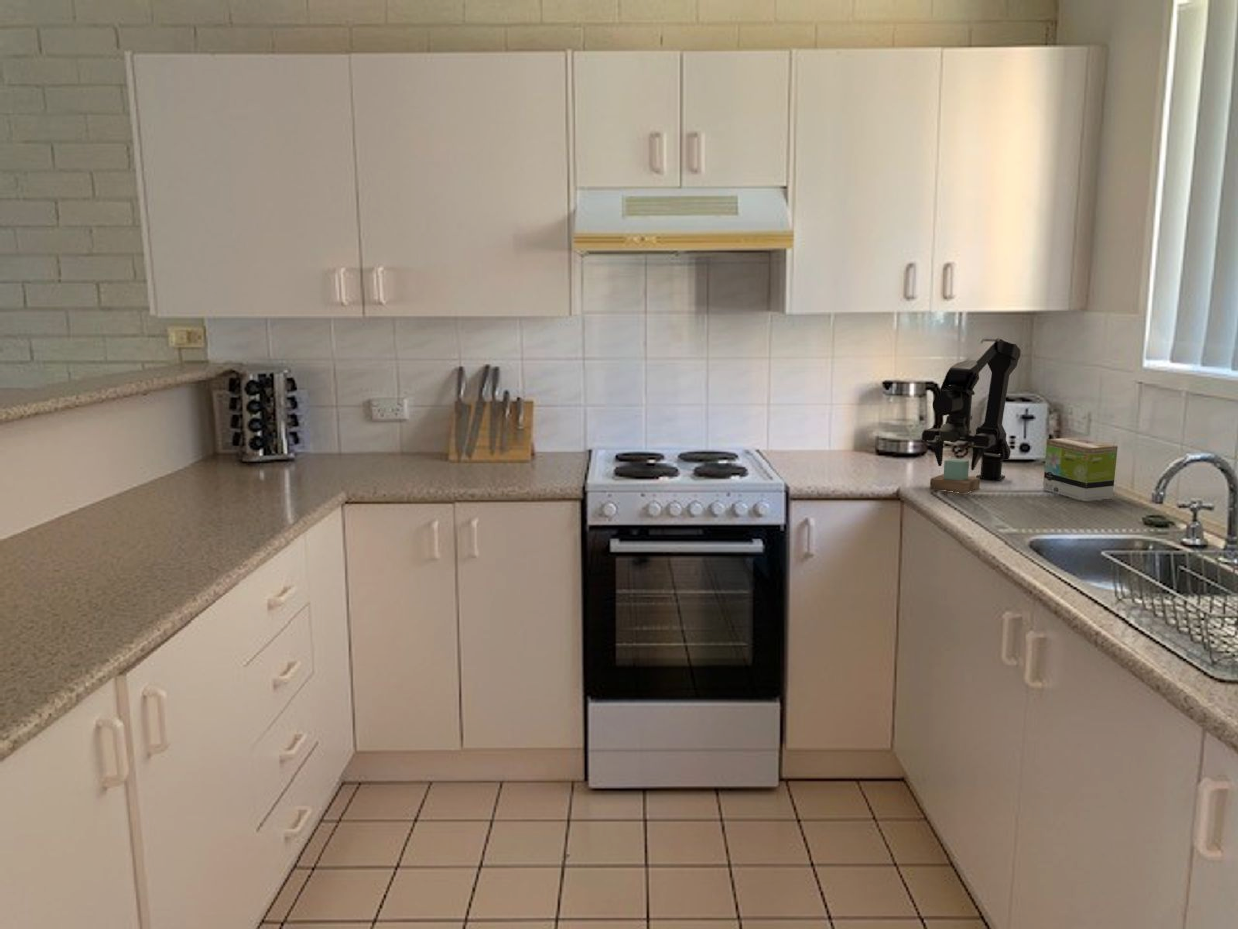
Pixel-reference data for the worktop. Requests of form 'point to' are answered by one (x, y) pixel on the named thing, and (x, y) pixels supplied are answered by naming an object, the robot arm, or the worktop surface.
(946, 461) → the teal cube
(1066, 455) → the tea box
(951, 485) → the walnut block
